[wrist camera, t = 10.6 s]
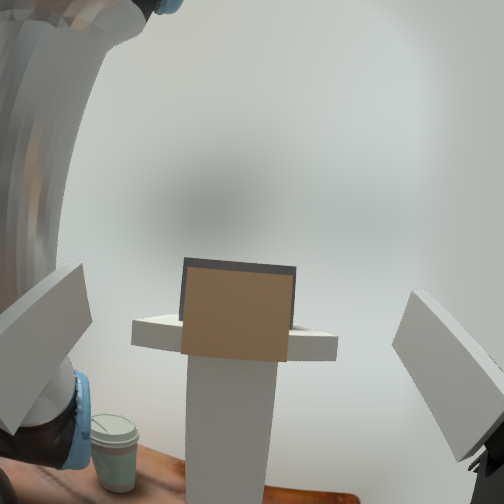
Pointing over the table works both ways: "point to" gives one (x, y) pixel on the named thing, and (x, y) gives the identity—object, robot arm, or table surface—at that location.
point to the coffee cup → (114, 451)
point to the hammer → (236, 309)
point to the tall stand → (229, 410)
